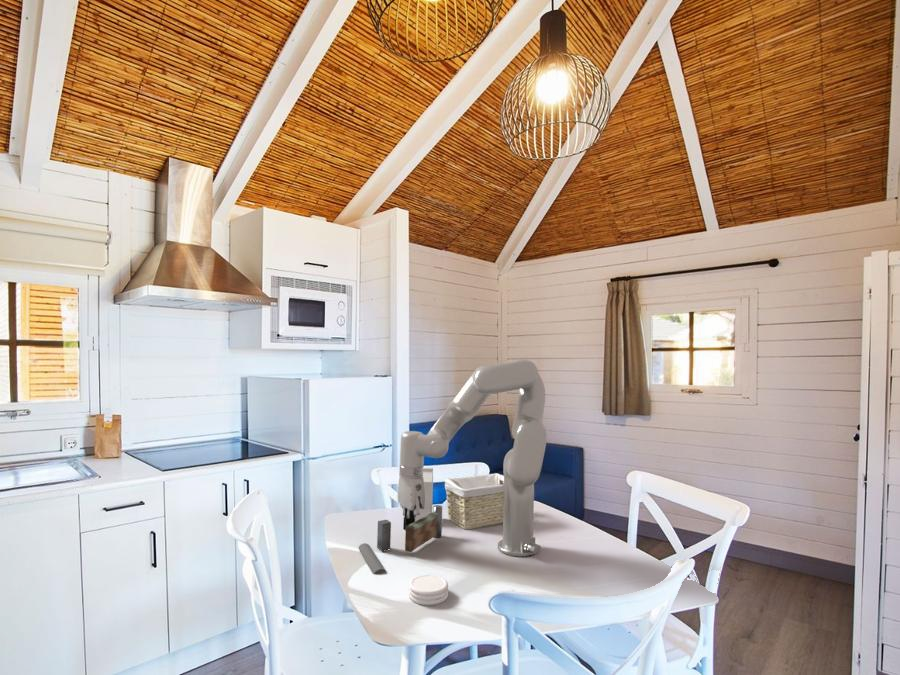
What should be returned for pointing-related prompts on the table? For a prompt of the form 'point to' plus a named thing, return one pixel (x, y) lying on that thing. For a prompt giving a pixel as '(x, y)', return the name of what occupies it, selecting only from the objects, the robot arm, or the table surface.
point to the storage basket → (475, 500)
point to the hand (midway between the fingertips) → (408, 529)
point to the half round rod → (371, 559)
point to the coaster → (428, 589)
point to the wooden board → (420, 531)
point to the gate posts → (385, 530)
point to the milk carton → (427, 493)
